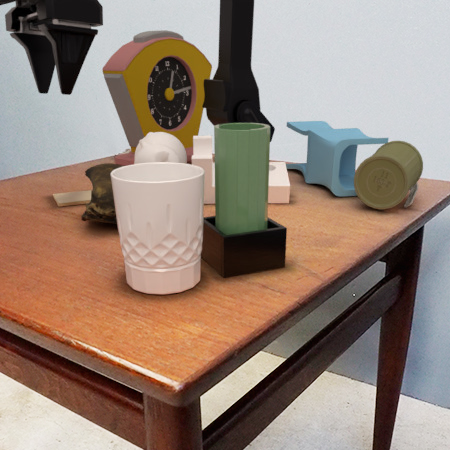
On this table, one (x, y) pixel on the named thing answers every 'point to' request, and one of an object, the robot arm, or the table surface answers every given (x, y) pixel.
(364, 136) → the blue step stool
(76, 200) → the coaster
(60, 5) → the robot arm
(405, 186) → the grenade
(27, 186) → the table surface
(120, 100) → the yellow mantel clock
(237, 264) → the black open box
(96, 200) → the seashell
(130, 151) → the soap
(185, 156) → the cat figurine
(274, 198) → the bracket
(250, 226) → the green cylinder
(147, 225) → the white cup
